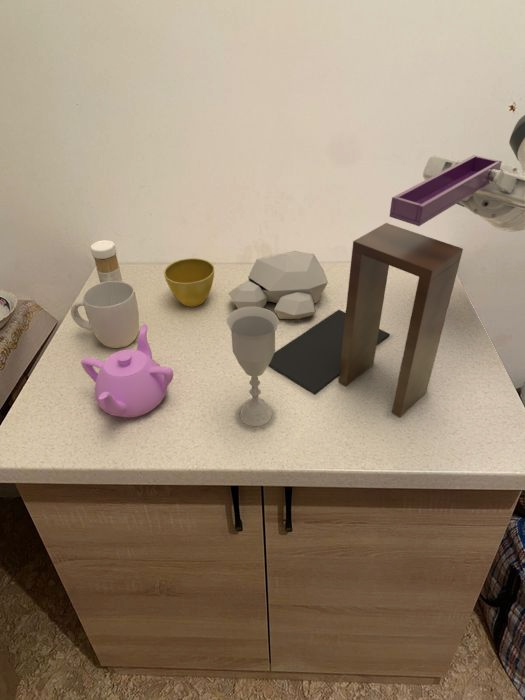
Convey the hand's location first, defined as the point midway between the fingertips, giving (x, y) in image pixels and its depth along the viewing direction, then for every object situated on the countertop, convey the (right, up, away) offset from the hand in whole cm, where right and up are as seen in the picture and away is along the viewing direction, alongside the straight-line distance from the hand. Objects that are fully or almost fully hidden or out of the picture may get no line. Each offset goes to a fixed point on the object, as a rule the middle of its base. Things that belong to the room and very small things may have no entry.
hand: (474, 170), depth 73 cm
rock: (-27, -16, +32) cm, 45 cm away
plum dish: (-5, -5, -3) cm, 7 cm away
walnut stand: (-11, -32, +11) cm, 36 cm away
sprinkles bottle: (-61, -16, +32) cm, 71 cm away
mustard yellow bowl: (-45, -16, +33) cm, 58 cm away
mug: (-60, -24, +23) cm, 68 cm away
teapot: (-52, -34, +10) cm, 63 cm away
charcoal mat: (-19, -26, +19) cm, 37 cm away
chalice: (-32, -36, +6) cm, 49 cm away
